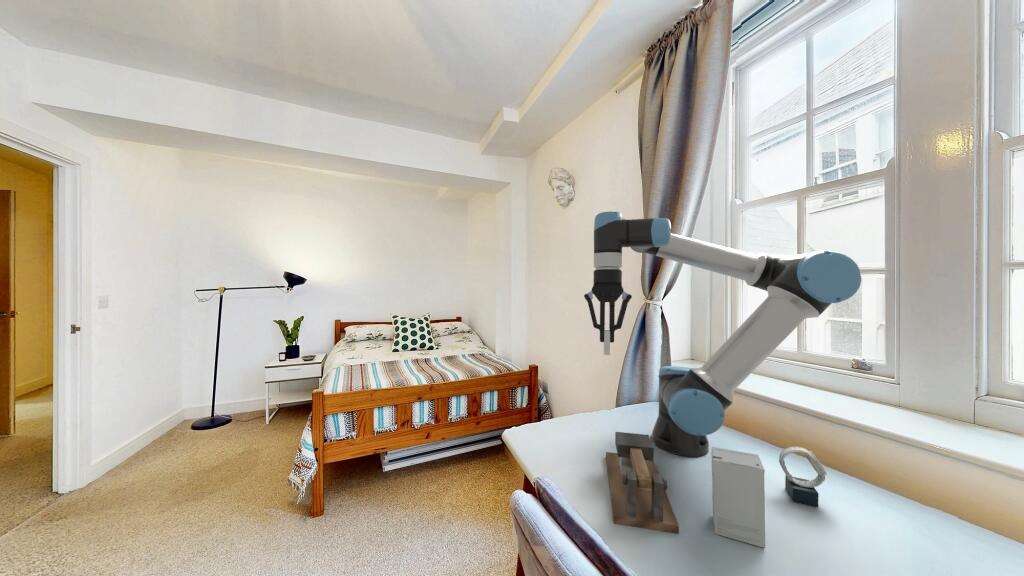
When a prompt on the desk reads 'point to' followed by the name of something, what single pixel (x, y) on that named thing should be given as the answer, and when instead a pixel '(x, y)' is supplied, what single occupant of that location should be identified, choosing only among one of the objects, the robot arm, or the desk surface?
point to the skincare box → (738, 496)
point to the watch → (803, 488)
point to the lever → (636, 455)
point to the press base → (638, 497)
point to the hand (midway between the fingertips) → (606, 353)
